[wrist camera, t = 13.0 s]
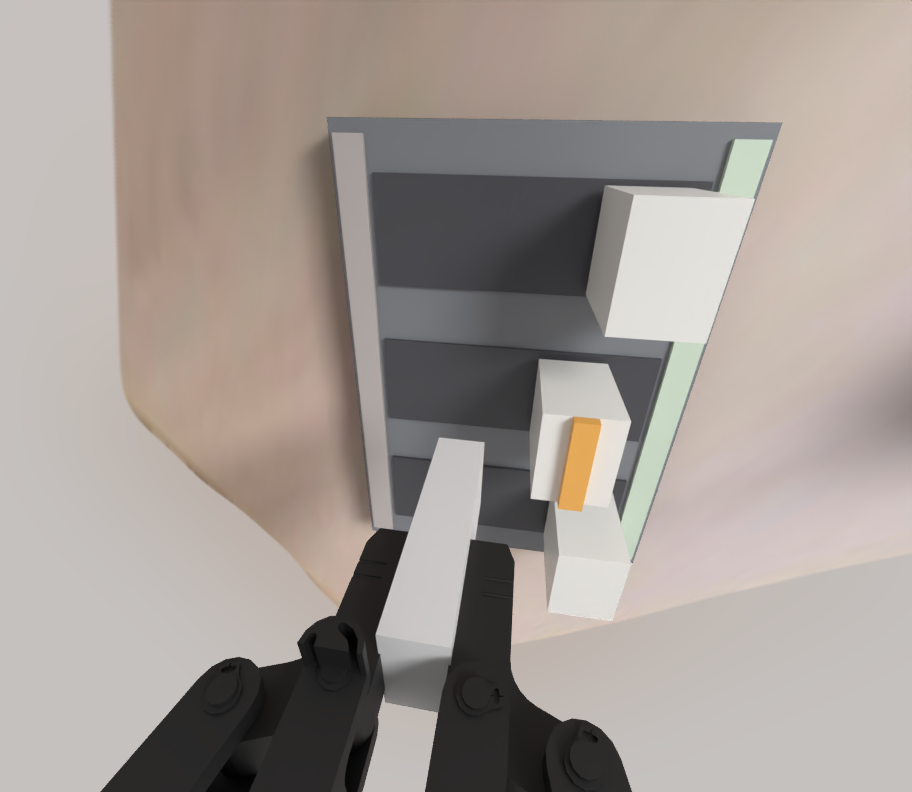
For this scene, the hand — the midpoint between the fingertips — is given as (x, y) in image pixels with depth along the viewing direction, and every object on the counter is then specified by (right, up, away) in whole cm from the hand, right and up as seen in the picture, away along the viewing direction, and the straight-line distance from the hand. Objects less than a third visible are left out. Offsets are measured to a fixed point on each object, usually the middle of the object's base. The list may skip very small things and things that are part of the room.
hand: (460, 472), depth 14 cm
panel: (+3, +4, +8) cm, 9 cm away
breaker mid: (+5, +2, +5) cm, 8 cm away
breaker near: (+7, +8, +2) cm, 11 cm away
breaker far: (+6, -4, +9) cm, 11 cm away
